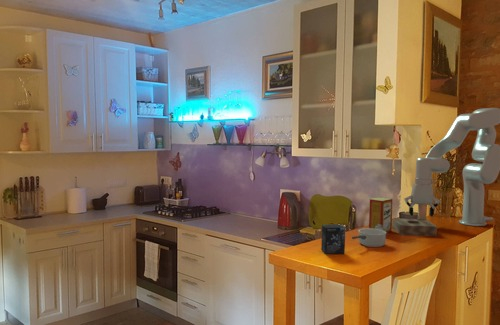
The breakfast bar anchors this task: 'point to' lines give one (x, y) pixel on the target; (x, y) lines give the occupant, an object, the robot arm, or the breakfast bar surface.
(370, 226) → the baking soda box
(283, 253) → the breakfast bar surface
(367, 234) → the saucepan
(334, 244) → the box
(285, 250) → the breakfast bar surface
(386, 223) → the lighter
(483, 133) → the robot arm
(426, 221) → the socket block
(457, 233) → the breakfast bar surface
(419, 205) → the peg
